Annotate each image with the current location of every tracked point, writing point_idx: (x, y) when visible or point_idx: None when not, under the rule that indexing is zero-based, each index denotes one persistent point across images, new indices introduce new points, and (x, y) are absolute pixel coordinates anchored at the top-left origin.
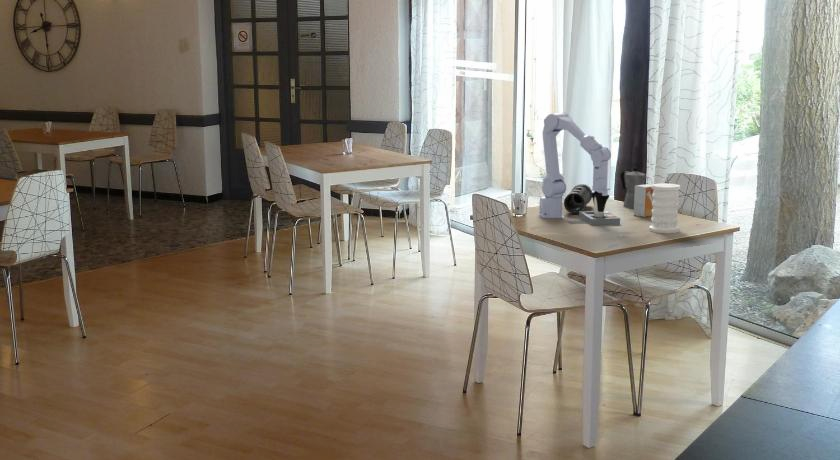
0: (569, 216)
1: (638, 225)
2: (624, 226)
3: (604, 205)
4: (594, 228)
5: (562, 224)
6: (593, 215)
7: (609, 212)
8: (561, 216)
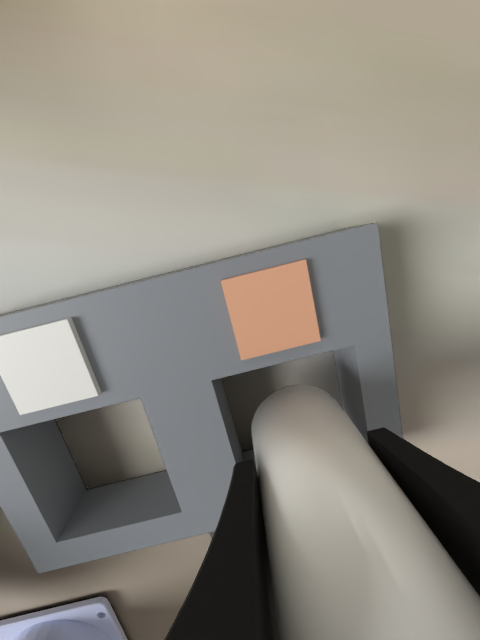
0: (6, 570)
1: (328, 34)
2: (379, 189)
3: (460, 479)
4: (450, 422)
5: None
6: (231, 468)
7: (63, 321)
8: (78, 622)
